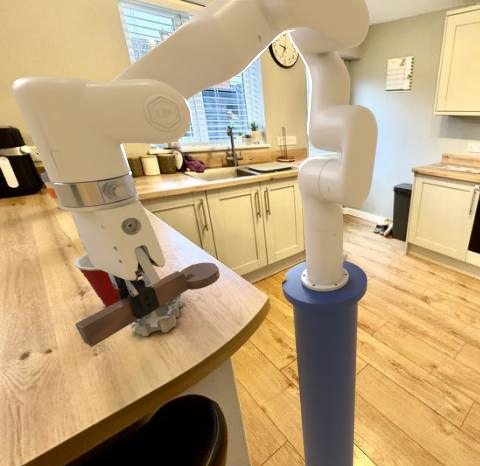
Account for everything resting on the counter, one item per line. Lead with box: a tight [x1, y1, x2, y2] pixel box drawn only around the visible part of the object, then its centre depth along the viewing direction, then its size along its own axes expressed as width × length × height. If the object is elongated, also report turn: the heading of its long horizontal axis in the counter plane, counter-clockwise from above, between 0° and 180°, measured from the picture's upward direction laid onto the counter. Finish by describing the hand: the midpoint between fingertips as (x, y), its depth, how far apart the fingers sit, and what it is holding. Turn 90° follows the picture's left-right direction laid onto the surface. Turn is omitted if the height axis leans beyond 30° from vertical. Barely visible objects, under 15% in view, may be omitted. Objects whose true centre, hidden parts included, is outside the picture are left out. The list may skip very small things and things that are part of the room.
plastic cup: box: [73, 254, 139, 308], centre depth 63 cm, size 11×11×12 cm
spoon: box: [74, 262, 221, 348], centre depth 45 cm, size 20×6×3 cm, turn 154°
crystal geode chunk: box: [130, 294, 183, 337], centre depth 60 cm, size 11×8×4 cm
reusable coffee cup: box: [40, 171, 63, 210], centre depth 126 cm, size 13×13×15 cm
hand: (142, 309), depth 43 cm, fingers closed on spoon
